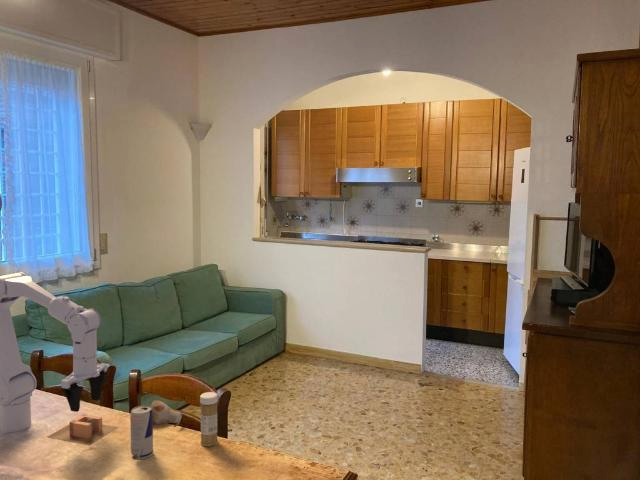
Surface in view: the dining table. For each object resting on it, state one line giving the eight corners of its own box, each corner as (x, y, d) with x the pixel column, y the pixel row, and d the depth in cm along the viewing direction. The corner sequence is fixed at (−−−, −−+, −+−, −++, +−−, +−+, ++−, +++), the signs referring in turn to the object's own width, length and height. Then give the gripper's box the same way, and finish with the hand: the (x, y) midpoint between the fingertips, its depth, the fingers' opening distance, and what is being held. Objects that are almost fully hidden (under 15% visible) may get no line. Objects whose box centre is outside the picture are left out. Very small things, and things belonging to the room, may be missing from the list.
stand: (46, 442, 135) (46, 422, 135) (77, 425, 146) (76, 406, 145) (89, 450, 131) (89, 430, 131) (118, 432, 142) (118, 413, 141)
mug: (181, 431, 144) (162, 404, 141) (153, 442, 146) (134, 415, 143) (189, 414, 151) (171, 388, 148) (163, 425, 153) (145, 399, 150)
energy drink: (157, 451, 131) (157, 406, 130) (143, 461, 126) (143, 415, 125) (140, 448, 133) (139, 403, 132) (126, 458, 128) (125, 411, 127)
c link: (69, 435, 136) (69, 422, 136) (84, 426, 142) (84, 414, 141) (88, 438, 135) (87, 425, 134) (102, 429, 140) (102, 417, 140)
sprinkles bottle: (215, 438, 139) (215, 390, 138) (219, 445, 135) (219, 396, 134) (198, 440, 138) (198, 392, 136) (201, 448, 133) (201, 398, 132)
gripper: (76, 365, 127) (77, 418, 128) (116, 349, 141) (116, 397, 142) (54, 362, 129) (55, 414, 130) (95, 347, 143) (95, 394, 144)
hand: (85, 405), depth 136 cm, fingers open, 7 cm apart
